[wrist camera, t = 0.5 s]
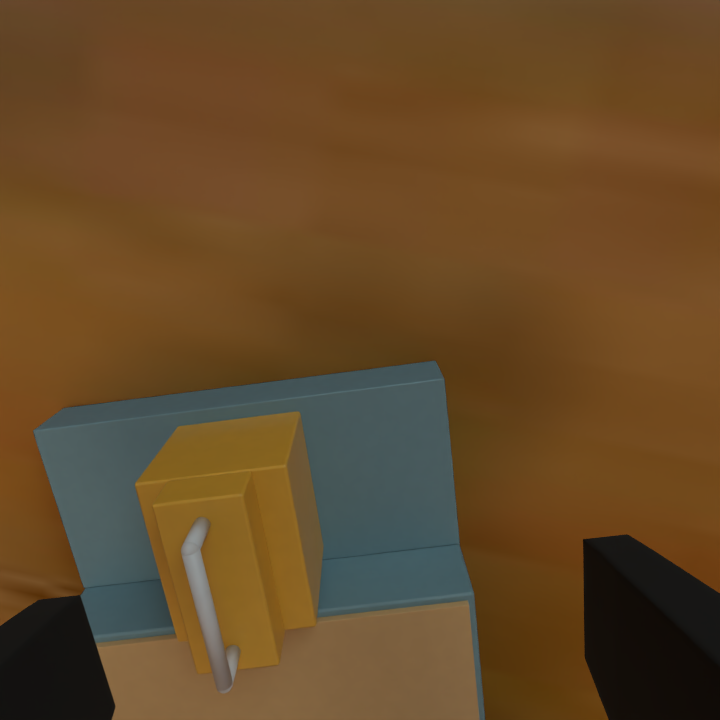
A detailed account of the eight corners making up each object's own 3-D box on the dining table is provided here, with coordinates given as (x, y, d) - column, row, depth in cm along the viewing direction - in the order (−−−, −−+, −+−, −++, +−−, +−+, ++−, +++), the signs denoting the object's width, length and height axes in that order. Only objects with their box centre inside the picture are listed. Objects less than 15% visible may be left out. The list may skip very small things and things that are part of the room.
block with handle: (323, 546, 17) (310, 703, 12) (210, 560, 18) (146, 721, 12) (300, 409, 16) (273, 517, 11) (177, 425, 16) (89, 539, 11)
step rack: (476, 781, 23) (519, 990, 17) (186, 812, 23) (127, 1027, 17) (435, 360, 18) (476, 445, 12) (63, 408, 18) (-82, 514, 12)
